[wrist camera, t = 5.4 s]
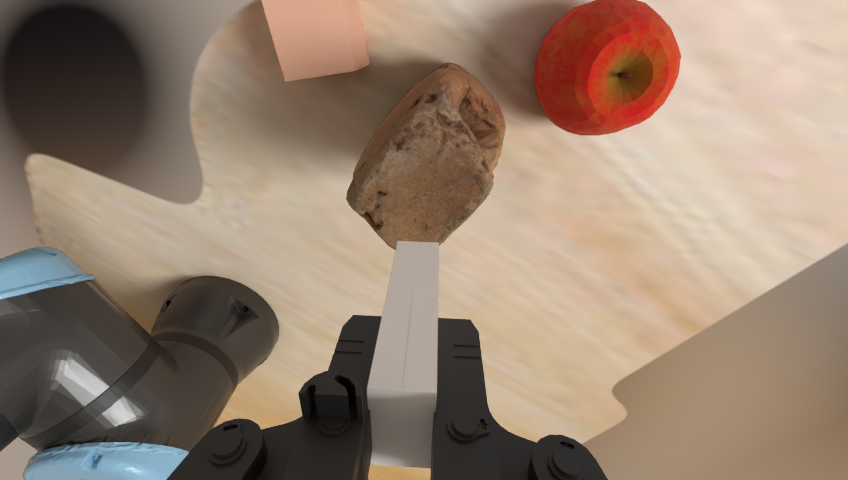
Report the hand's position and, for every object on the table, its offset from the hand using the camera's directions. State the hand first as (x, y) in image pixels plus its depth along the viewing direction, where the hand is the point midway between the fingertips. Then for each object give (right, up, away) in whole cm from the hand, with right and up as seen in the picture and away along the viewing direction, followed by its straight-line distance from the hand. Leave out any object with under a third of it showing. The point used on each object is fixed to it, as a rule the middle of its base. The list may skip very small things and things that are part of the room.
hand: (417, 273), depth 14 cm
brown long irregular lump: (+1, +14, +25) cm, 29 cm away
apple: (+16, +18, +22) cm, 32 cm away
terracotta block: (-8, +21, +22) cm, 31 cm away
